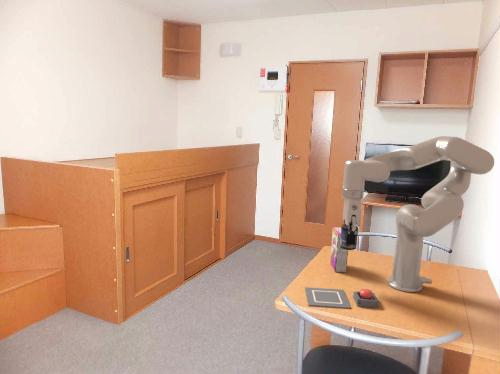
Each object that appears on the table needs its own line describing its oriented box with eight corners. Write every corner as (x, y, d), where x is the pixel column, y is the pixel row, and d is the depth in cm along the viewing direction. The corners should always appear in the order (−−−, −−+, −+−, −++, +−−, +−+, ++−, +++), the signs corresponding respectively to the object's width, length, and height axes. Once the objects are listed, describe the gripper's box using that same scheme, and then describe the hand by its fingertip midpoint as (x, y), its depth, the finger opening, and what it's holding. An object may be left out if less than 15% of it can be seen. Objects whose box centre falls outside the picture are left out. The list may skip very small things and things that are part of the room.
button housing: (372, 298, 134) (373, 292, 134) (378, 307, 127) (379, 301, 127) (352, 297, 135) (353, 291, 134) (357, 306, 128) (357, 299, 127)
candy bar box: (329, 262, 168) (332, 226, 166) (340, 263, 168) (343, 227, 166) (334, 272, 157) (337, 234, 155) (346, 273, 157) (350, 234, 155)
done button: (370, 294, 132) (370, 289, 132) (373, 299, 129) (373, 294, 128) (358, 293, 133) (359, 288, 132) (361, 299, 129) (361, 293, 128)
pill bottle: (352, 251, 138) (355, 222, 136) (336, 247, 141) (339, 219, 140) (359, 247, 143) (361, 219, 141) (343, 244, 146) (346, 216, 144)
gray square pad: (343, 290, 140) (343, 289, 140) (350, 308, 126) (351, 307, 126) (304, 288, 140) (305, 287, 140) (308, 305, 127) (308, 304, 126)
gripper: (368, 199, 130) (364, 249, 133) (358, 190, 147) (354, 235, 150) (346, 197, 130) (342, 248, 133) (338, 189, 147) (334, 234, 150)
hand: (348, 241), depth 142 cm, fingers closed on pill bottle, 6 cm apart
